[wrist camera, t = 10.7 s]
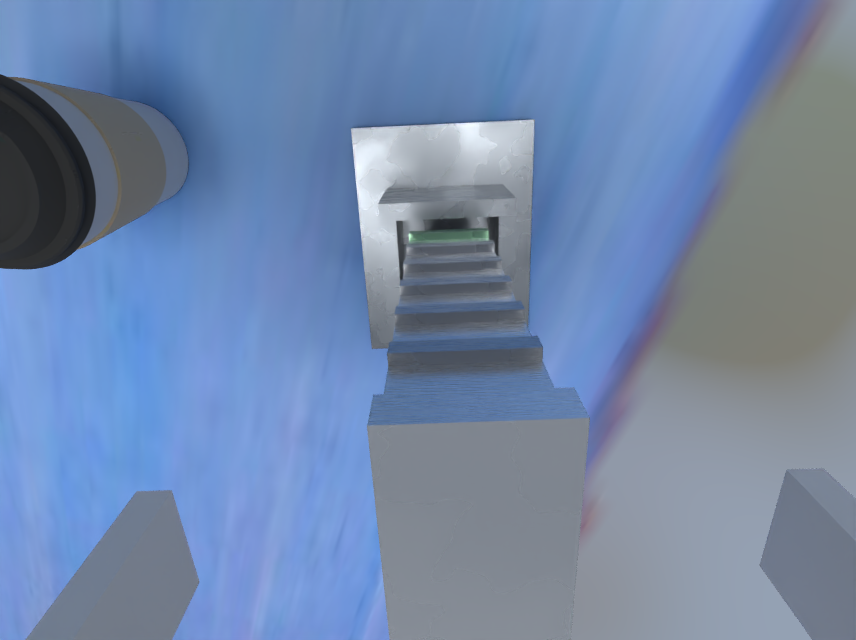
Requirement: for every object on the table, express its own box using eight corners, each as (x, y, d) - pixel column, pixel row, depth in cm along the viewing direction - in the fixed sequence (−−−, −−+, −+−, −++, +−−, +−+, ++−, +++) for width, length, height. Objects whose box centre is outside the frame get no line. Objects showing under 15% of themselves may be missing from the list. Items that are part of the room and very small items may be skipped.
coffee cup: (188, 238, 38) (47, 313, 24) (62, 190, 36) (-165, 241, 23) (217, 114, 35) (73, 118, 21) (79, 58, 33) (-172, 22, 19)
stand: (373, 343, 41) (360, 393, 34) (353, 127, 35) (332, 133, 28) (525, 337, 41) (545, 386, 33) (531, 119, 34) (558, 122, 27)
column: (415, 319, 32) (390, 646, 13) (409, 217, 30) (367, 425, 10) (485, 316, 32) (570, 642, 13) (485, 214, 30) (589, 418, 10)
